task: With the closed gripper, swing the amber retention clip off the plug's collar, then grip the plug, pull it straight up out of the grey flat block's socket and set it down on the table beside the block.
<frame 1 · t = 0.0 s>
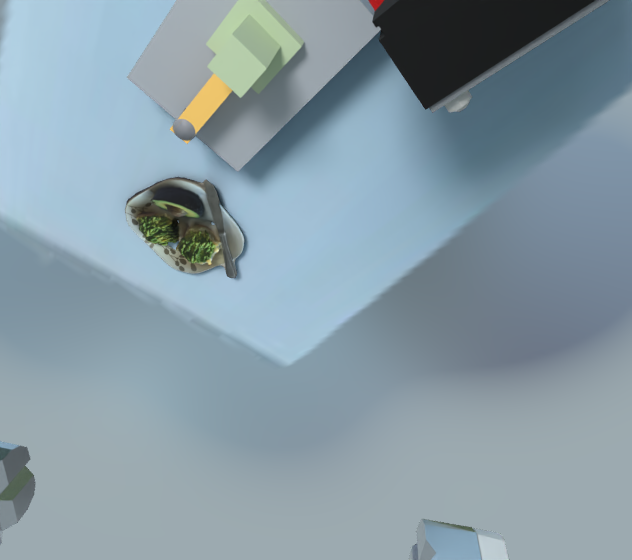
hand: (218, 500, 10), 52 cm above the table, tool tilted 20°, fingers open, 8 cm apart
plug: (263, 30, 51), point 2 cm above the table, touching grey flat block
grey flat block: (256, 38, 53), on the table
retention clip: (209, 98, 52), point 7 cm above the table, hinge at 0.0°
salad plate: (188, 220, 74), on the table
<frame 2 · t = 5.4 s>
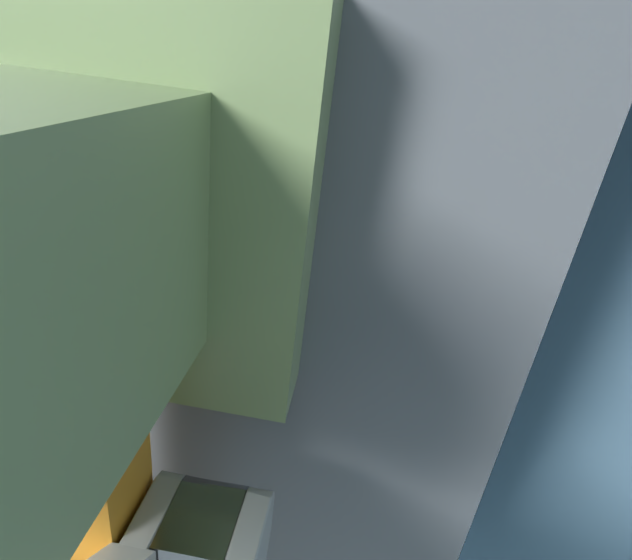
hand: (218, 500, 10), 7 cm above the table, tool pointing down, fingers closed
plug: (192, 155, 12), point 2 cm above the table, touching grey flat block
grey flat block: (214, 212, 14), on the table
retention clip: (108, 552, 11), point 7 cm above the table, hinge at 0.7°, touching gripper
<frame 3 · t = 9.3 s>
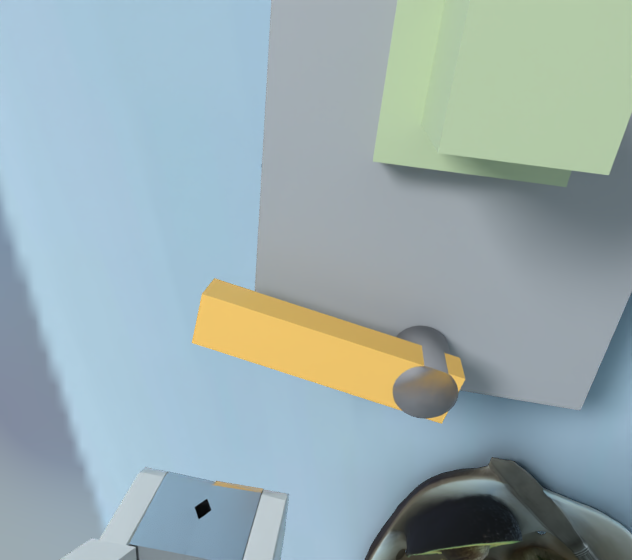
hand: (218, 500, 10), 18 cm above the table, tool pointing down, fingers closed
plug: (470, 68, 20), point 2 cm above the table, touching grey flat block
grey flat block: (454, 114, 23), on the table
retention clip: (330, 340, 21), point 7 cm above the table, hinge at 79.8°
salad plate: (487, 545, 35), on the table
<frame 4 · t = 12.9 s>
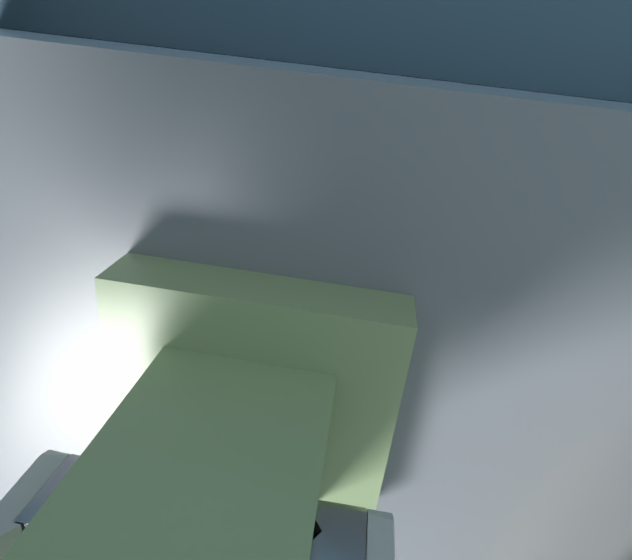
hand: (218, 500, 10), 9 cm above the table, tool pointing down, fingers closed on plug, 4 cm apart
plug: (282, 329, 16), point 2 cm above the table, touching gripper, grey flat block
grey flat block: (346, 312, 17), on the table
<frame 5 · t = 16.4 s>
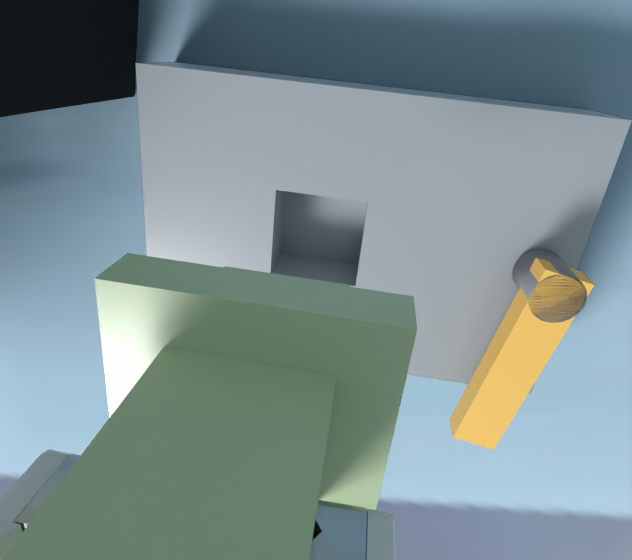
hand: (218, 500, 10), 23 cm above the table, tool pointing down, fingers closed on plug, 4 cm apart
plug: (282, 329, 16), point 16 cm above the table, touching gripper
grey flat block: (356, 217, 31), on the table
retention clip: (509, 350, 26), point 7 cm above the table, hinge at 80.1°
when the fingers open (9 cm above the table, at t = 20.3 s): plug drops 2 cm, on the table.
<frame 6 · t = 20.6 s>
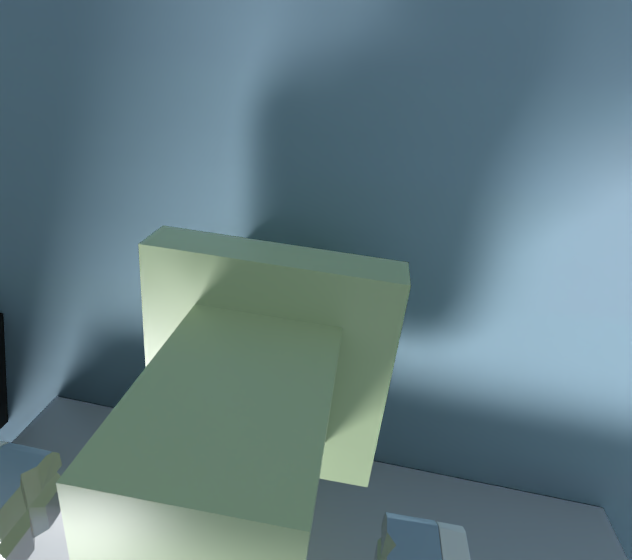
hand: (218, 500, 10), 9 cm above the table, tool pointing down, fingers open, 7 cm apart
plug: (292, 301, 18), on the table
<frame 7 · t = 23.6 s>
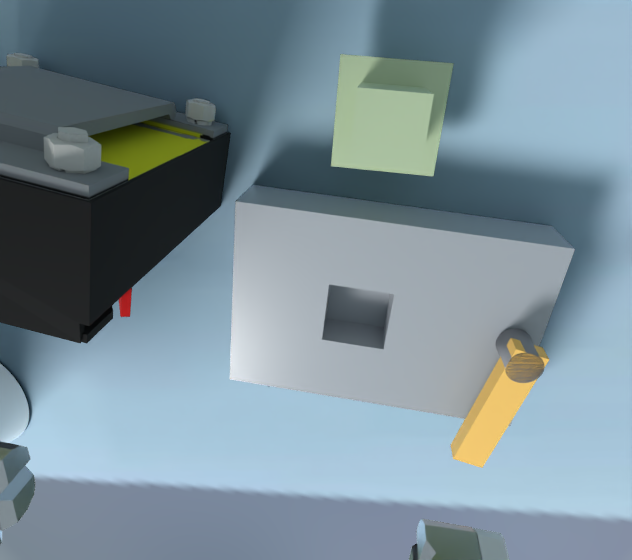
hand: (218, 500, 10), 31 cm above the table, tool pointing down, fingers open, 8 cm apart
plug: (388, 110, 35), on the table
grey flat block: (382, 293, 42), on the table
retention clip: (493, 398, 37), point 7 cm above the table, hinge at 80.1°
electrical component: (123, 142, 39), on the table
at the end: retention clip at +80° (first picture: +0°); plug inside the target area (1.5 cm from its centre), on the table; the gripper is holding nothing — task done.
